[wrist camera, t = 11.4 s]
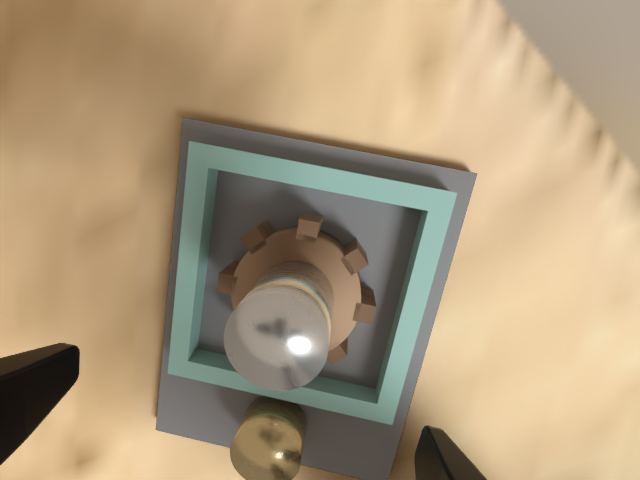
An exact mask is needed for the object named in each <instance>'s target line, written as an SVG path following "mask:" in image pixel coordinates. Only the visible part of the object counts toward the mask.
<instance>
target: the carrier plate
mask: <svg viewBox="0 0 640 480" xmlns="http://www.w3.org/2000/svg"><path fill="white" fill-rule="evenodd" d="M476 176H477V173H472V172H467V171H462V170H457V169H451V168H446V167H441V166H436V165H430V164H425V163H420V162H414V161H409V160H404V159H399V158H393V157H388V156H383V155H378V154H372V153H367V152H362V151H356V150H351V149H346V148H341V147H335V146H330V145H325V144H319V143H314V142H309V141H304V140H298V139H293V138H288V137H283V136H277V135H272V134H267V133H261V132H256V131H251V130H246V129H240V128H235V127H230V126H225V125H219V124H214V123H209V122H203V121H198V120H193V119H188V118H183V123H182V135H181V146H180V158H179V169H178V181H177V192H176V204H175V215H174V226H173V238H172V249H171V261H170V272H169V284H168V295H167V307H166V318H165V330H164V341H163V353H162V364H161V376H160V387H159V399H158V410H157V422H156V430H158V431H162V432H166V433H170V434H175V435H179V436H183V437H187V438H191V439H195V440H200V441H204V442H208V443H212V444H216V445H221V446H225V447H229V448H231V449H230V457H231V461H232V464H233V466H234V468H235V469H236V471H237V472H238V473H239V474H240V475H241V476H242V477H243V478H245V479H246V480H292V479H293V478H294V477H295V476H296V474H297V473H298V471H299V468H300V465H304V466H308V467H313V468H317V469H321V470H325V471H329V472H334V473H338V474H342V475H346V476H350V477H354V478H359V479H363V480H388V479H389V476H390V472H391V469H392V465H393V462H394V458H395V455H396V452H397V448H398V445H399V441H400V438H401V434H402V431H403V428H404V424H405V421H406V417H407V414H408V410H409V407H410V403H411V400H412V397H413V393H414V390H415V386H416V383H417V379H418V376H419V372H420V369H421V366H422V362H423V359H424V355H425V352H426V348H427V345H428V341H429V338H430V335H431V331H432V328H433V324H434V321H435V317H436V314H437V310H438V307H439V304H440V300H441V297H442V293H443V290H444V286H445V283H446V280H447V276H448V273H449V269H450V266H451V262H452V259H453V255H454V252H455V249H456V245H457V242H458V238H459V235H460V231H461V228H462V224H463V221H464V218H465V214H466V211H467V207H468V204H469V200H470V197H471V193H472V190H473V187H474V183H475V180H476ZM304 213H310V214H314V215H319V216H323V221H322V226H321V230H322V231H325V232H327V233H329V234H331V235H332V236H334V237H335V238H337V239H338V240H339V241H340V242H341V243H342V244H343V245H344V246H346V245H347V244H349V243H350V242H352V241H353V240H355V239H357V240H358V241H359V243H360V244H361V246H362V247H363V249H364V250H365V252H366V253H367V259H368V264H369V265H368V266H366V267H364V268H363V269H361V270H360V271H359V276H360V286H361V288H364V289H369V290H373V291H374V297H375V302H376V310H375V314H374V318H373V322H372V325H371V324H366V323H362V322H356V324H355V326H354V328H353V330H352V331H351V333H350V334H349V335H348V350H347V357H345V358H343V359H341V360H340V361H338V362H336V363H334V364H332V365H331V364H330V362H329V361H328V360H327V359H326V362H325V364H324V366H323V368H322V370H321V371H320V373H319V374H318V375H317V376H316V377H315V378H314V379H313V380H312V381H310V382H309V383H307V384H306V385H304V386H302V387H299V388H296V389H293V390H288V391H273V390H267V389H264V388H261V387H258V386H256V385H254V384H252V383H250V382H248V381H247V380H246V379H244V378H243V377H242V376H241V375H240V374H239V373H238V372H237V371H236V370H235V369H234V367H233V366H232V364H231V363H230V361H229V359H228V357H227V354H226V351H225V347H224V330H225V326H226V323H227V320H228V319H229V317H230V315H231V314H232V312H233V311H234V310H233V306H232V301H231V294H228V293H224V292H219V291H217V284H218V276H219V272H221V271H222V270H223V269H224V268H226V267H227V266H228V265H229V264H231V263H232V262H233V261H237V262H240V261H241V259H242V258H243V257H244V255H245V254H246V253H247V252H248V251H249V250H248V249H247V247H246V246H245V245H244V243H243V242H242V240H241V239H240V238H241V237H242V236H244V235H245V234H247V233H248V232H250V231H251V230H252V229H254V228H255V227H257V226H259V225H260V224H262V223H263V222H265V221H268V222H269V224H270V225H271V226H272V228H273V229H274V231H278V230H280V229H283V228H287V227H294V226H298V222H299V218H300V217H301V216H302V215H303V214H304Z"/></svg>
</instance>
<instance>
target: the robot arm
mask: <svg viewBox="0 0 640 480" xmlns="http://www.w3.org/2000/svg"><path fill="white" fill-rule="evenodd" d="M79 356H80V351H79V348H78V347H77V346H75V345H71V344H67V343H58V344H54V345H50V346H46V347H42V348H38V349H34V350H30V351H27V352H23V353H19V354H15V355H11V356H7V357H3V358H0V465H1V464H2V463H3V462H4V461H5V460H6V459H7V458H8V457H9V456H10V455H11V454H12V453H13V452H14V451H15V450H16V449H17V448H18V447H19V446H20V445H21V444H22V443H23V442H24V441H25V440H26V439H27V438H28V437H29V436H30V435H31V434H32V432H33V431H34V430H35V429H36V428H37V427H38V426H39V424H40V423H41V422H42V421H43V420H44V419H45V417H46V416H47V415H48V414H49V413H50V412H51V410H52V409H53V408H54V407H55V406H56V405H57V404H58V402H59V401H60V400H61V399H62V398H63V397H64V395H65V394H66V393H67V392H68V391H69V390H70V388H71V387H72V386H73V385H74V384H75V382H76V380H77V378H78V376H79ZM415 473H416V480H487V479H486V478H485V477H484V476H483V474H482V473H481V472H480V471H479V470H478V469H477V468H476V467H475V466H474V464H473V463H472V462H471V461H470V460H469V459H468V458H467V457H466V455H465V454H464V453H463V452H462V451H461V450H460V449H459V448H458V447H457V445H456V444H455V443H454V442H453V441H452V440H451V439H450V438H449V436H448V435H447V434H446V433H445V432H444V431H443V430H442V429H440V428H436V427H431V426H425V427H424V428H423V430H422V433H421V436H420V439H419V442H418V446H417V449H416V452H415Z"/></svg>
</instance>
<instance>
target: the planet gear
mask: <svg viewBox="0 0 640 480" xmlns="http://www.w3.org/2000/svg"><path fill="white" fill-rule="evenodd" d="M322 221H323V216H319V215H314V214H310V213H304V214H303V215H302V216H301V217H300V218H299V222H298V226H294V227H287V228H283V229H280V230H278V231H274V229H273V228H272V226H271V225H270V224H269V222H268V221H265V222H263V223H262V224H260V225H259V226H257V227H255V228H254V229H252V230H251V231H250V232H248V233H247V234H245V235H244V236H242V237H241V238H240V239H241V240H242V242H243V243H244V245H245V246H246V247H247V249H248V250H249V251H248V252H247V253H246V254H245V255H244V257H243V258H242V259H241V261H240V262H237V261H233V262H232V263H231V264H229V265H228V266H227V267H226V268H224V269H223V270H222V271H221V272H219V276H218V284H217V291H219V292H224V293H228V294H231V301H232V306H233V310H234V311H233V312H232V314H231V315H230V317H229V319H228V320H227V323H226V326H225V330H224V347H225V351H226V354H227V357H228V359H229V361H230V363H231V364H232V366H233V367H234V369H235V370H236V371H237V372H238V373H239V374H240V375H241V376H242V377H243V378H244V379H246V380H247V381H248V382H250V383H252V384H254V385H256V386H258V387H261V388H264V389H267V390H273V391H288V390H293V389H296V388H299V387H302V386H304V385H306V384H307V383H309V382H310V381H312V380H313V379H314V378H315V377H316V376H317V375H318V374H319V373H320V371H321V370H322V368H323V366H324V364H325V362H326V359H327V360H328V361H329V362H330V364H331V365H332V364H334V363H336V362H338V361H340V360H341V359H343V358H345V357H347V350H348V335H349V334H350V333H351V331H352V330H353V328H354V326H355V324H356V322H362V323H366V324H371V325H372V322H373V318H374V314H375V310H376V302H375V297H374V291H373V290H369V289H364V288H361V286H360V276H359V271H360V270H361V269H363V268H364V267H366V266H368V265H369V264H368V259H367V253H366V252H365V250H364V249H363V247H362V246H361V244H360V243H359V241H358V240H357V239H355V240H353V241H352V242H350V243H349V244H347V245H346V246H344V245H343V244H342V243H341V242H340V241H339V240H338V239H337V238H335V237H334V236H332V235H331V234H329V233H327V232H325V231H322V230H321V226H322Z"/></svg>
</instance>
